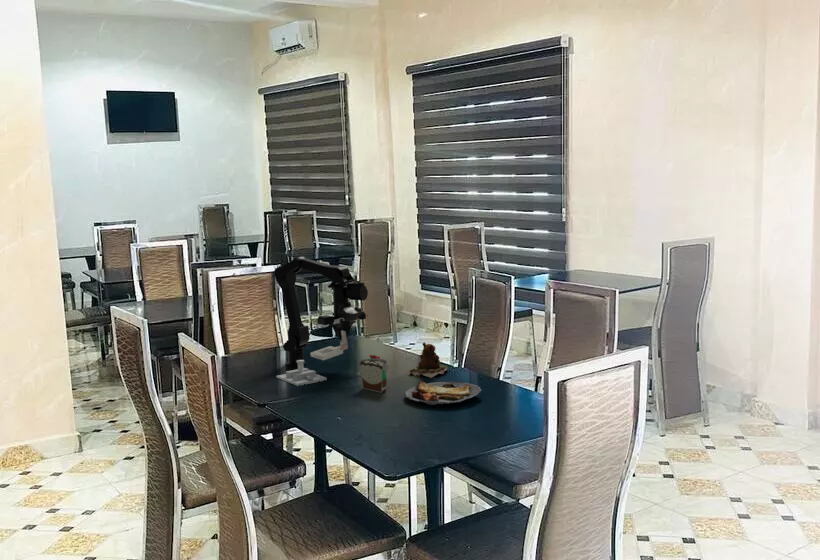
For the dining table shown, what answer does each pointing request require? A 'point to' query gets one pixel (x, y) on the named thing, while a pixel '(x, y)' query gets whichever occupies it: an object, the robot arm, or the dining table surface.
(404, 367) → the dining table surface
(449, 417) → the dining table surface
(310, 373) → the plate with round-ended peg
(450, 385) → the food plate
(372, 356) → the tow hook
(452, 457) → the dining table surface
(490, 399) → the dining table surface
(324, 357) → the square frame with handle
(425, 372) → the bear figurine
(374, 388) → the food container
